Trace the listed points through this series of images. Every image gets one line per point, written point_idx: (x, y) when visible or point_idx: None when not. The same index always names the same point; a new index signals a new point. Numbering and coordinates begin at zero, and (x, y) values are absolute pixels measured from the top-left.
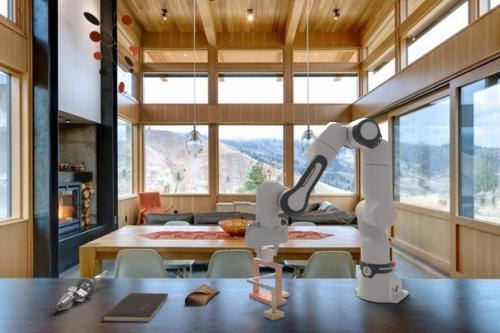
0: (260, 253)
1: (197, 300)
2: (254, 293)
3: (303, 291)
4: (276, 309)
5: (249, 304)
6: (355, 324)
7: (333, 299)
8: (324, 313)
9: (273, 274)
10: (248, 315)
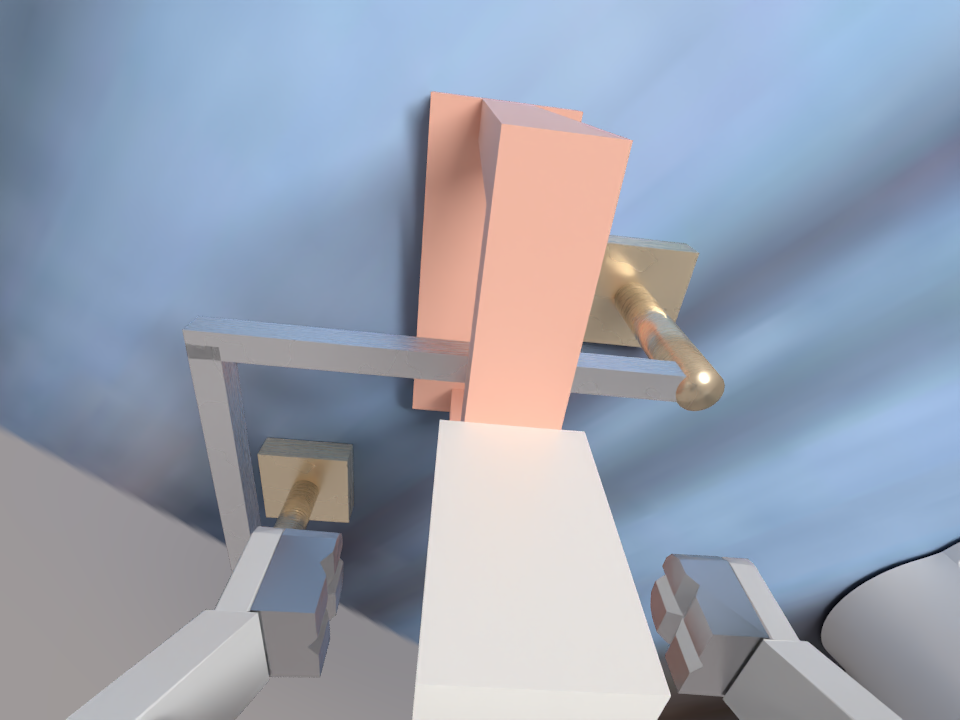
0: (253, 688)
1: None
2: (455, 153)
3: (831, 337)
4: (343, 478)
5: (308, 247)
6: None
7: (764, 523)
8: None
9: (578, 391)
10: (190, 379)
